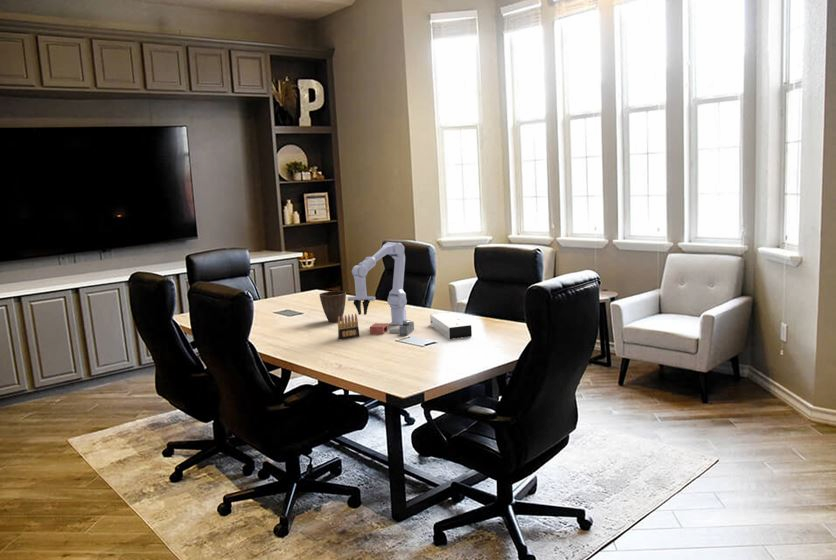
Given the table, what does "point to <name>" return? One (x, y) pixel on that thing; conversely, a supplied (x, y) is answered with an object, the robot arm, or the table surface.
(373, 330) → the red block
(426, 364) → the table surface
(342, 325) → the ammunition clip
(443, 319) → the laminator
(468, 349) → the table surface
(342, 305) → the plant pot
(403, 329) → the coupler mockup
